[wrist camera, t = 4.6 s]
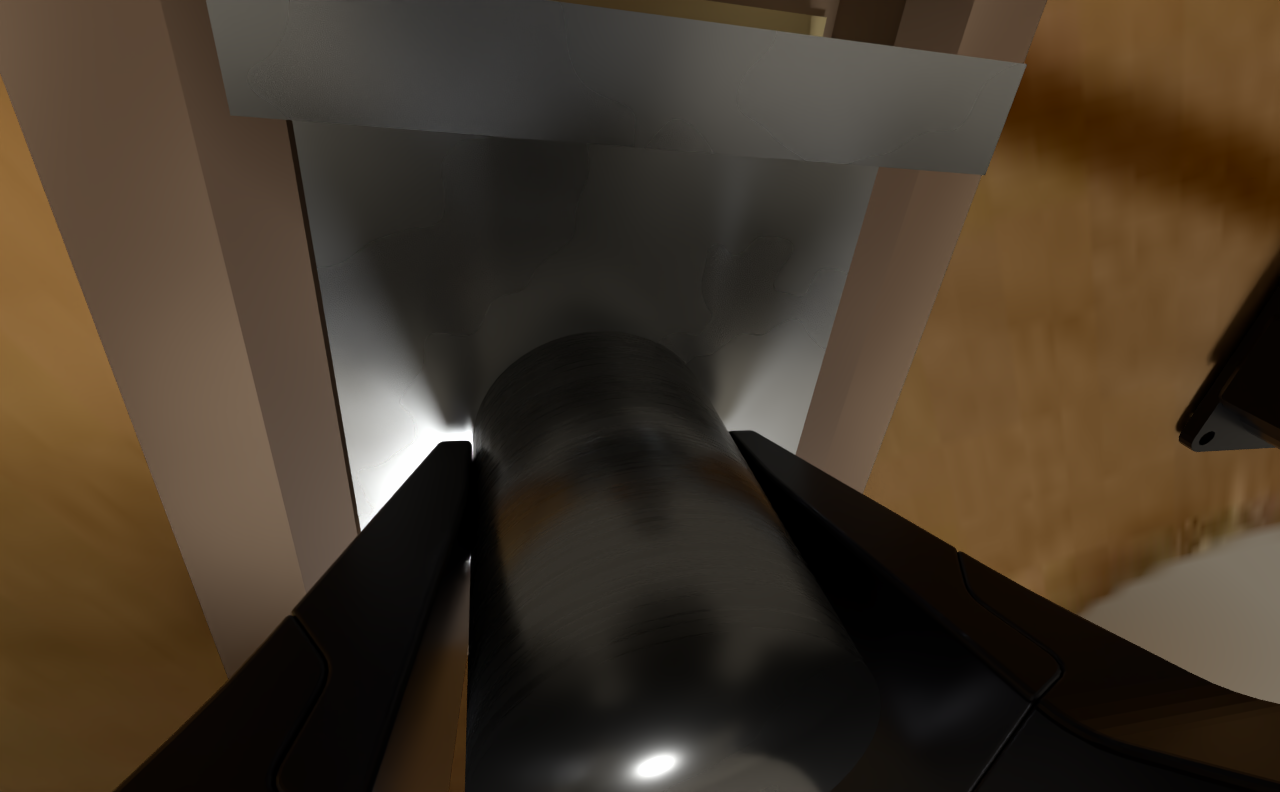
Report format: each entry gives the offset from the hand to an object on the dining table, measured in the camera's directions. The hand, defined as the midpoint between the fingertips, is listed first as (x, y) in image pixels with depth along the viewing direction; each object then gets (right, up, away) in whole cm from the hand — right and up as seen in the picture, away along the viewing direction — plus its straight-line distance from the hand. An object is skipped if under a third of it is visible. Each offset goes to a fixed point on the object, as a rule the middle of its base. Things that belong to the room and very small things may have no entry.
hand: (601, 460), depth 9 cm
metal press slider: (-1, +3, +2) cm, 3 cm away
